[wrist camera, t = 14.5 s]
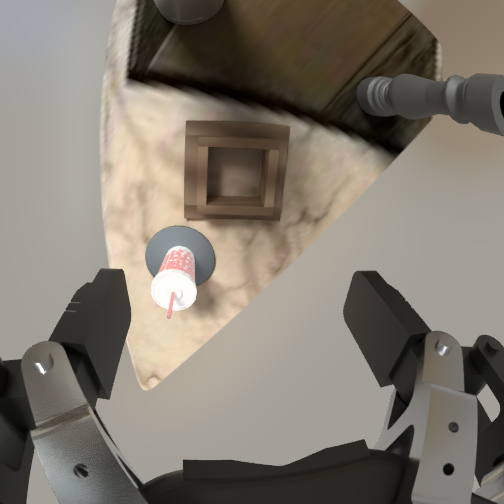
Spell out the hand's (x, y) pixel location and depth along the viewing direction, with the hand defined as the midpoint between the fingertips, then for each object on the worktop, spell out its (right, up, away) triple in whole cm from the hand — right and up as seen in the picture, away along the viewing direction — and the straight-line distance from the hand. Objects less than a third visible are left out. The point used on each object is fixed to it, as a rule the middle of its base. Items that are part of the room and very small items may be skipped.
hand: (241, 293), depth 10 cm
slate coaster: (-11, 0, +35) cm, 36 cm away
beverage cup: (-11, 0, +34) cm, 36 cm away
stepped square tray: (-2, +13, +30) cm, 32 cm away
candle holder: (+19, +25, +26) cm, 41 cm away
